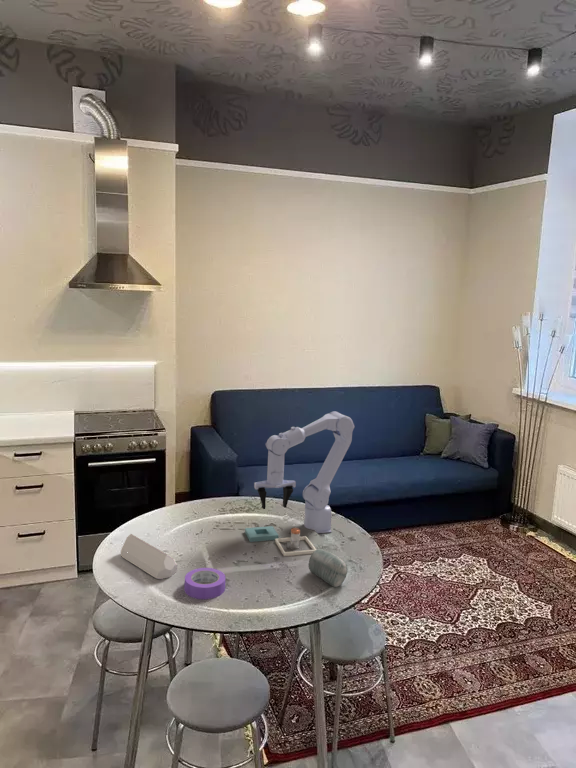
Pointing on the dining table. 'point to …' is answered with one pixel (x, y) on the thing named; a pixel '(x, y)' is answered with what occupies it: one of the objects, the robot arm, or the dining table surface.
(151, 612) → the dining table surface
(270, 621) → the dining table surface
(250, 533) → the teal socket block
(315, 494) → the robot arm
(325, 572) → the grey green streaked cylinder
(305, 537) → the tray
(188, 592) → the masking tape
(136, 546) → the crystal
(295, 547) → the copper-capped cylinder
